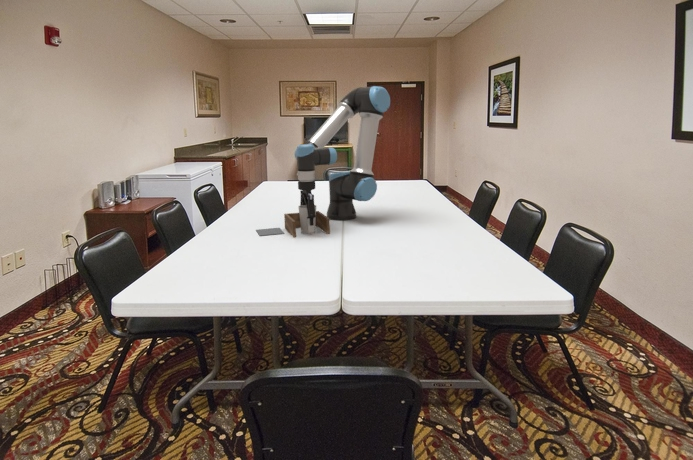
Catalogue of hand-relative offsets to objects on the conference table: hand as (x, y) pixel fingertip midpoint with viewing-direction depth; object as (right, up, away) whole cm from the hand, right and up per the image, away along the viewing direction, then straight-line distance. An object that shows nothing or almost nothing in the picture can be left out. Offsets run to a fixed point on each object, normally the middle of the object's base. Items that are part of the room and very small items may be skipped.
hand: (308, 229), depth 213 cm
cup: (0, -1, 0) cm, 2 cm away
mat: (-17, -1, +2) cm, 18 cm away
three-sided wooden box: (-1, -1, +2) cm, 2 cm away
